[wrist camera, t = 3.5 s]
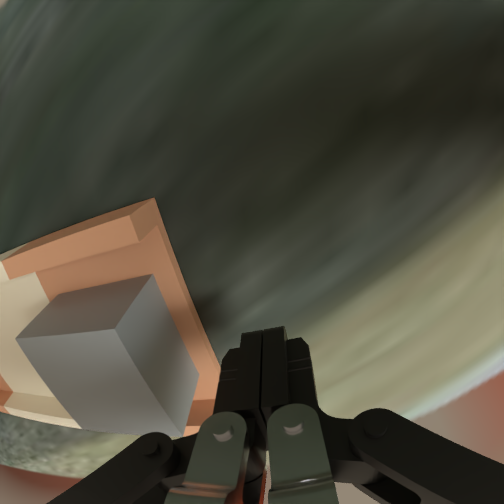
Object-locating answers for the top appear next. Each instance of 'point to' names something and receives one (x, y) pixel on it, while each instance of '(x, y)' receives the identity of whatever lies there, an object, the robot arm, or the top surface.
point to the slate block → (114, 358)
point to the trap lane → (88, 275)
